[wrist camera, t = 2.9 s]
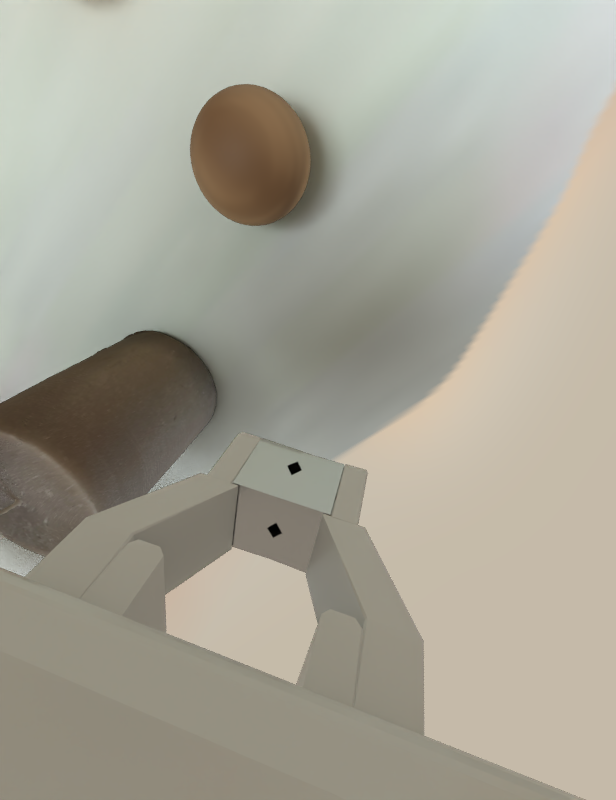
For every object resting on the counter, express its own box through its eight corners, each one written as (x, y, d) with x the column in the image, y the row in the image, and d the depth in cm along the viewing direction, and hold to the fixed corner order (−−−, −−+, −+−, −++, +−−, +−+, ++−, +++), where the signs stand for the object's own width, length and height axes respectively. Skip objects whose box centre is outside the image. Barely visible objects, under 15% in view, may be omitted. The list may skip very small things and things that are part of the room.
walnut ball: (270, 243, 24) (231, 257, 19) (203, 160, 22) (141, 151, 17) (343, 168, 21) (320, 160, 16) (271, 68, 20) (220, 25, 14)
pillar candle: (94, 338, 31) (-128, 445, 18) (194, 321, 28) (8, 434, 15) (143, 436, 35) (-11, 577, 23) (235, 431, 32) (116, 591, 19)
